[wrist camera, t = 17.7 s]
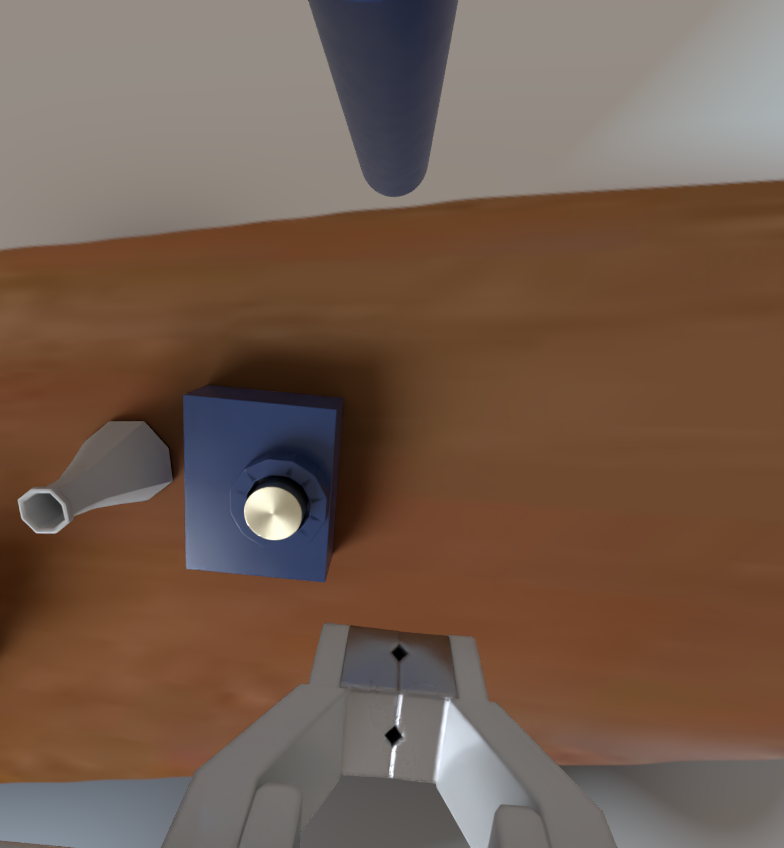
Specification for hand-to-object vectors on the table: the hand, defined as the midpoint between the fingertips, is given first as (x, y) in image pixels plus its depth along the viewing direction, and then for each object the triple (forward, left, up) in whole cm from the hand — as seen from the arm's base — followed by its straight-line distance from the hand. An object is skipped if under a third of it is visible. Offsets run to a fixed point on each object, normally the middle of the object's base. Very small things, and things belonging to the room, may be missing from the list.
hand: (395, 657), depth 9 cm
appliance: (+8, -10, -29) cm, 32 cm away
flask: (+8, -22, -29) cm, 37 cm away
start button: (+8, -8, -23) cm, 26 cm away
